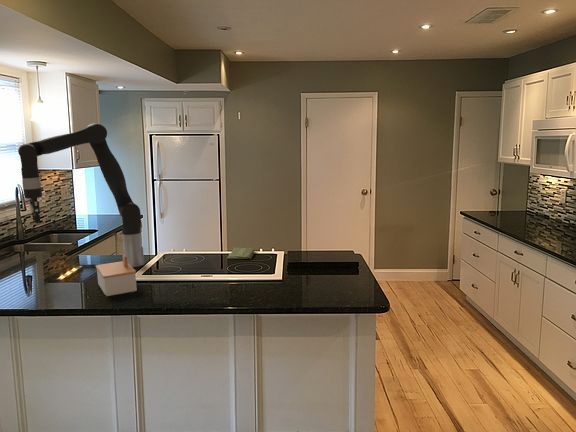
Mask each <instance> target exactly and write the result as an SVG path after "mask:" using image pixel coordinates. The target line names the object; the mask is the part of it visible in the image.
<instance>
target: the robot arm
mask: <svg viewBox="0 0 576 432" xmlns="http://www.w3.org/2000/svg"><path fill="white" fill-rule="evenodd" d="M107 136H108V131H107V128H106V127H105V126H104V125H103V124H101V123H98V122H97V123H96V122H95V123H90V124H88V125H87V126H86V127H85V128H83V129H80V130H78V131H74V132H69V133H64V134H60V135H54V136H51V137H47V138H43V139H40V140H37V141H32V142H28V143H24V144H21V145H20V146H19V147H18V150H17V153H18V155H19V158H20V163H21V164H20V165H21V176H22V183H21V184H22V191H23V196H24V197H23V198H24V199H29V201H28V204H29V209H30V212H31V217H32V220H33V221H34V223H35V224H40V223H41V217H40V215H41V207H40V205H41V204H40V200H38V199H39V198H42V197H43V189H42V183H41V182H42V181H41V178H40V173H39V171H40V170H39V168H38V157H39V156H43V155H49V154H54V153H56V152H60V151H65V150H66V149H71V148H72V147H73V148H74V147H76V146H81V145H85V144H89V145H90V147H91V149H92V150H93V152H94V155H95V157H96V159H97V164H98V166H99V169H100V171H101V174H102V176H103V178H104V181H105V182H106V184H107V186H108V188H109V190H110V192H111V193H112V195H113V198H114V200H115V202H116V206H117V209H118V213H119V216H120V217H121V220H122V228H121V234H122V235H121V236H122V248H123V255H126V256H127V262H128V263H129V264H130V265H131V266H132V267H133V268H137V267H142V266H145V256H144V247H143V244H142V243H143V242H142V234H141V232H142V231H141V230H142V217H141V216H142V213H141V209H140V207H139V205H138V204H136V203H134V201H133V199H132V198H131V196H130V194H129V191H128V188H127V183H126V178H125V174H124V172H123V170H122V167H121V165H120V163H119V162H118V159H117V158H116V157H115V155H114V154H113V153H112V150H111V149H110V147H109V145H108V143H107Z"/></svg>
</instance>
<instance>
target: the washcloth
mask: <svg viewBox="0 0 576 432" xmlns="http://www.w3.org/2000/svg"><path fill="white" fill-rule="evenodd" d="M254 254H255V248H253V247H252V248H251V247H245V248H244V247H234V248H233V249H232V251H231V252H230V253H229V254H228V255H227V257H226V259H228V260H251V259H252V258H253V256H254Z"/></svg>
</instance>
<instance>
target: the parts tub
mask: <svg viewBox="0 0 576 432" xmlns="http://www.w3.org/2000/svg"><path fill="white" fill-rule="evenodd" d="M96 275H97V284H98V286H99V288H100V289H101V291H102V292H103V294H104V295H106V296H105V297H109V296H115V295H122V294H126V293H131V292H137V291H138V289H137V277H136V273H135V274H129V275H123V276H117V277H111V278H105V279H103V277H102V276H101V274H100V273H99V271H98V270H97V269H96Z"/></svg>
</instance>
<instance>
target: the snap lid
mask: <svg viewBox="0 0 576 432" xmlns="http://www.w3.org/2000/svg"><path fill="white" fill-rule="evenodd" d="M95 268H96V271H97V270H98V271H99V273H100V274H101V276H102V277H103V279H105V278H111V277H117V276H123V275H129V274H135V275H136V274H137V270H136V269H134V268H135V267H132V266H131V265H130V264H129V263H128V262H127V256H126V255H124V254H122V260H121V261H116V262H110V263H109V262H108V263H103V264H95Z"/></svg>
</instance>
